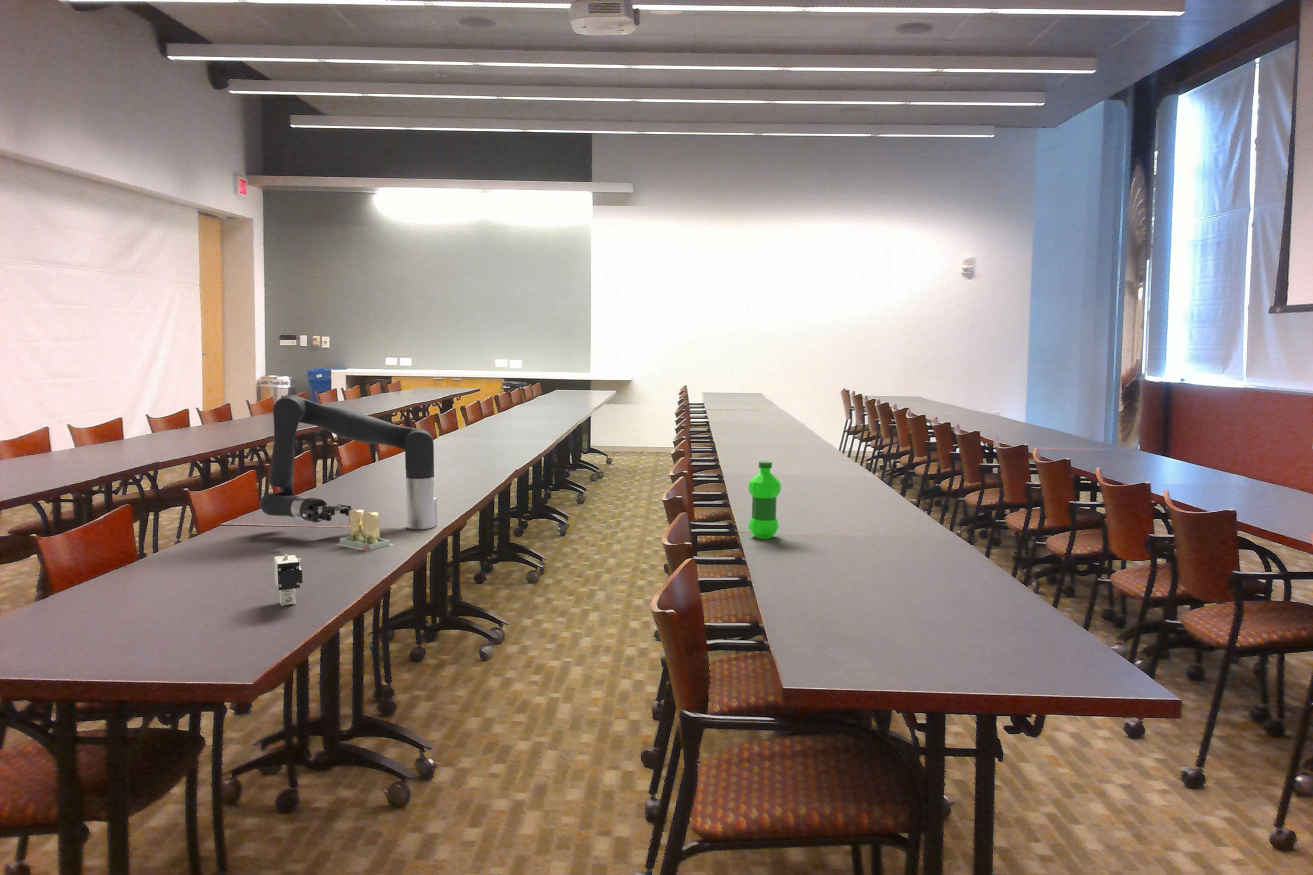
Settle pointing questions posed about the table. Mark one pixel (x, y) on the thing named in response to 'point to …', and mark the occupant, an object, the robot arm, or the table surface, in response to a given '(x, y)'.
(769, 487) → the plastic bottle
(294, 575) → the pneumatic valve
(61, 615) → the table surface
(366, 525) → the seated billet
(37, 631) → the table surface
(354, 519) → the billet
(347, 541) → the pale green divided tray
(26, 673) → the table surface
